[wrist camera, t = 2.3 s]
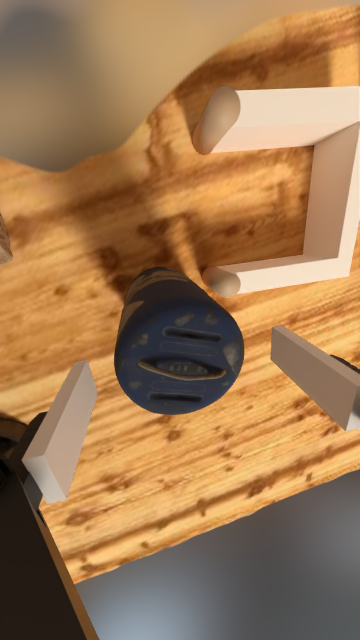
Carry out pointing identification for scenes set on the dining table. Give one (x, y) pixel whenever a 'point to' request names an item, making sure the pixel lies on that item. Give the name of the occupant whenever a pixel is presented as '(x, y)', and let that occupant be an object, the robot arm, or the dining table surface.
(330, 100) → the bracket
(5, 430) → the robot arm
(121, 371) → the canister
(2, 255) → the stone cup
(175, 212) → the dining table surface
